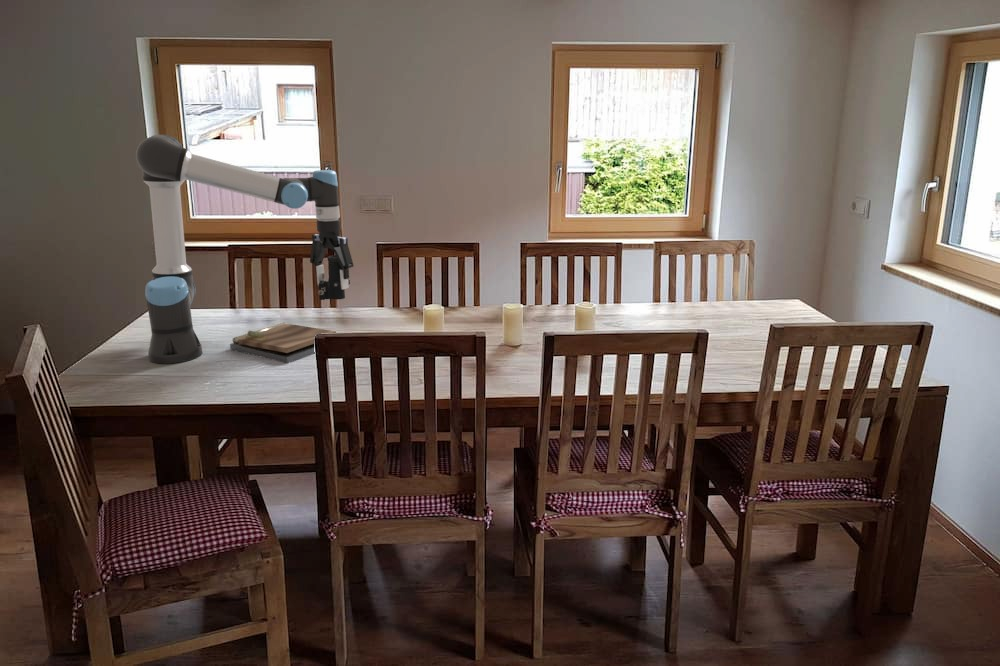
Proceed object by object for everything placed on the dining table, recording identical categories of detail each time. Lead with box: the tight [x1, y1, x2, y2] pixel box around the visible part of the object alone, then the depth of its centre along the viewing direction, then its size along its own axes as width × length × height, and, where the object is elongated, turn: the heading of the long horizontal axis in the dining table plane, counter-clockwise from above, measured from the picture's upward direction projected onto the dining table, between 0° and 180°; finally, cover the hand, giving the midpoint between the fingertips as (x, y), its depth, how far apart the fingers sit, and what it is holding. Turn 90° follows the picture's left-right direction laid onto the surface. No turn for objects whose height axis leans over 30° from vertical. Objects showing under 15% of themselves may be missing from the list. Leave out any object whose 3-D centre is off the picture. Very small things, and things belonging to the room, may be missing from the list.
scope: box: [317, 254, 351, 301], centre depth 261 cm, size 8×14×10 cm
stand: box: [229, 322, 316, 364], centre depth 249 cm, size 26×22×4 cm
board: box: [238, 323, 337, 353], centre depth 248 cm, size 22×20×4 cm
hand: (333, 286), depth 262 cm, fingers closed on scope, 10 cm apart
